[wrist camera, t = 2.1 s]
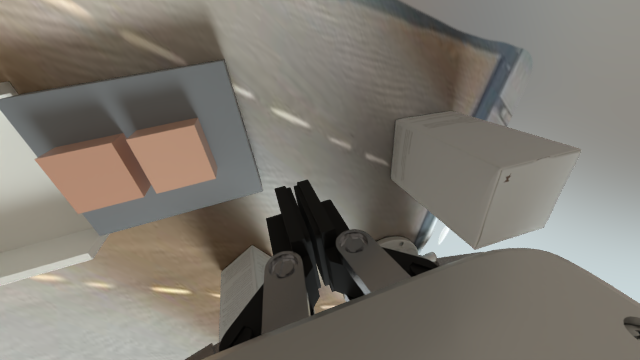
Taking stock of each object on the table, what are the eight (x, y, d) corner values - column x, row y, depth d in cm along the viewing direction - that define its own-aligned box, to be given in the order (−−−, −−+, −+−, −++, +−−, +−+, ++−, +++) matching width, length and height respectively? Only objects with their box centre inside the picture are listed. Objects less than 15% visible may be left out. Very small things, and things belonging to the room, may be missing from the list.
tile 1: (197, 117, 22) (194, 125, 20) (217, 167, 25) (216, 178, 22) (136, 130, 21) (125, 139, 19) (163, 180, 24) (156, 193, 22)
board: (224, 59, 23) (223, 61, 21) (260, 178, 30) (263, 191, 27) (22, 93, 20) (-8, 100, 18) (112, 218, 27) (99, 236, 24)
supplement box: (388, 180, 36) (472, 253, 23) (394, 118, 31) (501, 167, 19) (441, 169, 38) (545, 230, 25) (454, 109, 34) (587, 148, 21)
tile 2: (123, 133, 21) (111, 142, 19) (152, 183, 23) (144, 197, 21) (55, 147, 20) (34, 159, 18) (92, 198, 23) (78, 214, 20)
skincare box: (243, 283, 37) (248, 373, 27) (220, 271, 34) (215, 364, 24) (274, 257, 36) (290, 339, 26) (252, 243, 34) (261, 326, 24)
